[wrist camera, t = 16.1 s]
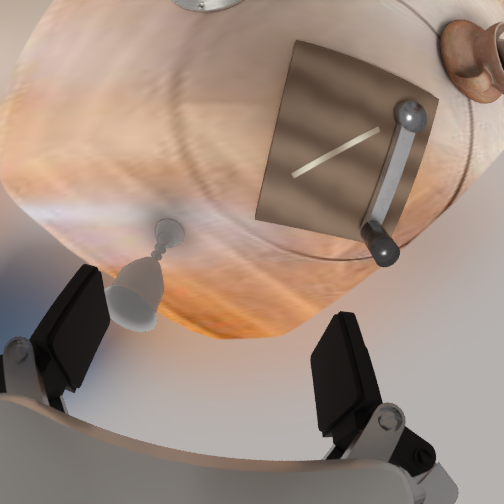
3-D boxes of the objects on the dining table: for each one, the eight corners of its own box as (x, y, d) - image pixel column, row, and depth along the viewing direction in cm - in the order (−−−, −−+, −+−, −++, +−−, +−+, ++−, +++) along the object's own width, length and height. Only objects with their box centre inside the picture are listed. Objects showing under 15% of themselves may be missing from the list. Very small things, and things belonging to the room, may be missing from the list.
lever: (398, 95, 28) (430, 98, 21) (422, 108, 28) (456, 115, 21) (351, 233, 39) (368, 264, 32) (375, 239, 40) (394, 269, 33)
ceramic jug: (466, 12, 18) (519, 5, 6) (503, 81, 23) (556, 94, 11) (407, 42, 25) (464, 30, 13) (452, 120, 30) (511, 140, 18)
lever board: (294, 43, 27) (297, 39, 25) (431, 98, 29) (439, 99, 27) (255, 213, 41) (255, 220, 39) (381, 241, 43) (386, 248, 41)
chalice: (199, 237, 43) (169, 319, 28) (171, 258, 46) (136, 338, 30) (168, 204, 40) (118, 275, 25) (141, 228, 43) (91, 301, 27)
